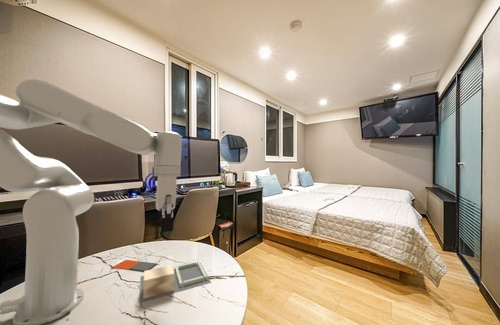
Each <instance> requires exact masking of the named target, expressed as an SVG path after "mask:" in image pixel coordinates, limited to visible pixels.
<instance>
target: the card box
mask: <svg viewBox="0 0 500 325" xmlns="http://www.w3.org/2000/svg"><path fill="white" fill-rule="evenodd" d="M173 269H174V265H173V264H170V265H167V266H162V267H157V268H152V269H151V270H147V271H144V272H143V276H144V291H143V299H145V298H148V297H152V296H156V295H159V294H163V293H166V292H170V291H174V270H173Z"/></svg>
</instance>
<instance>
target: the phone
mask: <svg viewBox="0 0 500 325" xmlns="http://www.w3.org/2000/svg"><path fill="white" fill-rule="evenodd" d="M156 266H158V263H155V262H148V261H146V262H145V261H138V260H130V259H124V260H123V261H121V262H118V263H117V264H115V265H113V266H112V267H111V270H114V269H118V270H125V271H133V272H139V273H140V272H141V273H144V271H147V270H152V269H154V267H156Z"/></svg>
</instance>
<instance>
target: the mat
mask: <svg viewBox="0 0 500 325" xmlns="http://www.w3.org/2000/svg"><path fill="white" fill-rule="evenodd" d="M173 270H174V291H170V292H166V293H163V294H159V295H156V296H152V297H148V298H145V299H143V291H144V275H142V276H140V281H139V282H140V283H139V295H138V296H139V298H138V304H141V303H144V302H147V301H148V302H149V301H152V300H155V299H158V298H162V297H165V296H168V295H169V296H170V295H172V294H175V293H176V294H177V293H180V292H183V291H186V290H189V289H193V288H196V287H201V286H204V285H207V284H211V283H212V281H211V279H210V278H209V276H208V274H207V272H206V270H205V268H204V266H203V265H202V263H201V262H200V260H197V261H192V262H188V263H184V264H179V265H175V266H174V268H173Z"/></svg>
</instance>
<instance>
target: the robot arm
mask: <svg viewBox="0 0 500 325" xmlns="http://www.w3.org/2000/svg"><path fill="white" fill-rule="evenodd" d="M15 96H16V98H17V99H14V98H12V97H9V96H6V95H4V94H2V93H0V187H1V188H2V189H4V190H5V191H7V192H11V193H29V192H34V193H33V194H32V195H30V196H29V198H27V200H26V201H25V203H24V205H23V207H22V218H23V223H24V228H25V232H26V249H25V250H26V251H25V252H26V253H25V254H26V256H25V276H24V294H23V295H21V297H19V298H12V299H8V300H7V299H6V300H3V301H2V302H1V303H0V315H5V314H6V315H7V314H10V313H13V312H15V313H14V315H13V318H12V325H41V324H42V325H45V324H47V322H48V323H50V322H52V321H54V320H58V319H60V318H62V317H63V316H65V315H66V314H69V313H70V312H72V310H74V309H75V308H76V307H78V306H79V305H80V304H81V303H82V301H83V300H84V297H85V296H84V295H85V292H84V291H83V290H82V289H81V288H80V289H79V288H78V267H79V266H78V265H79V248H80V247H79V243H80V242H79V240H80V235H79V234H80V233H79V231H80V230H79V226H78V223H77V219H76V218H77V217H78V216H79V215H81V214H83V213H85V212H87V211H88V210H90V208H91V207H92V206H93V204H94V202H95V194H94V192H93V191H92V189H91V188H90V187H89V185H87V183H85V182H84V181H83V180H82V179H81V178H80V177H79V176H78V175H77V174H76V173H75V172H74V171H73V170H72V169H71V168H69V167H68V166H67V164H65V163H63V162H61V160H58V159H55V158H52V157H47V156H45V157H44V156H37V155H34V154H33V153H31V152H30V151H29V150H27V149H26V148H25V147H24V146H22V145H21V144H20V143H19V140H17V139H15V138H14V137H13V136H11V135H10V134H9V133H7V132H6V131H5V130H3V129H8V130H25V129H30V128H35V127H43V126H48V125H53V124H57V123H61V124H63V125H65V126H67V127H70V128H73V129H75V130H77V131H79V132H82V133H83V134H86V135H91V136H93V137H96V138H98V139H100V140H102V141H105V142H107V143H110V144H112V145H114V146H116V147H118V148H121V149H123V150H126V151H128V152H130V153H134V154H138V155H139V156H140V155H142V156H149V155H154V167H153V168H154V172H153V176H154V177H157V181H156V191H155V192H156V193H155V209H156V210H157V211H158V223H159V224H160V232H161V233H167V232H172V231H174V209H175V208H176V203H177V202H176V200H177V177H181V170H182V169H181V163H182V141H183V138H182V135H181V134H180V133H178V132H174V131H158V132H157V133H156V132H155V133H153V132H152V131H151V132H150V131H149V130H148V129H147V128H145V127H144V126H142V125H140V124H138V123H137V122H134V121H132V120H130V119H128V118H125V117H123V116H121V115H119V114H116V113H115V112H112V111H110V110H108V109H106V108H103V107H102V106H99V105H97V104H95V103H92V102H91V101H89V100H87V99H84V98H82V97H81V96H78V95H76V94H74V93H72V92H70V91H67V90H66V89H63V88H61V87H59V86H57V85H55V84H52V83H50V82H49V81H45V80H42V79H32V78H31V79H26V80H25V79H24V80H23V81H21V82H19V83H18V84H17V86H16V87H15ZM1 128H2V129H1ZM76 216H77V217H76ZM44 323H45V324H44Z"/></svg>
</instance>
